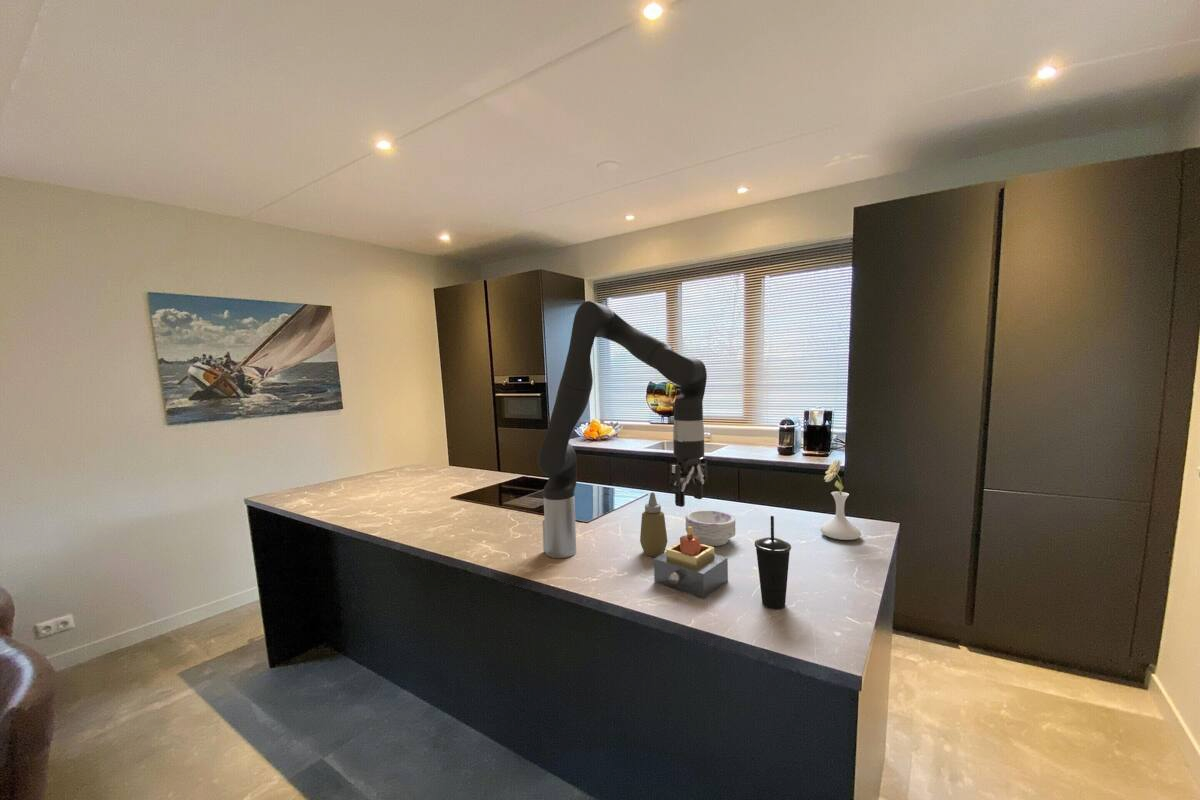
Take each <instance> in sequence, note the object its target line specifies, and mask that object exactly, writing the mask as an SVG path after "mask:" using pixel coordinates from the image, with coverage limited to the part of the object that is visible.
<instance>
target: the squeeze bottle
mask: <svg viewBox="0 0 1200 800" xmlns="http://www.w3.org/2000/svg"><path fill="white" fill-rule="evenodd" d="M656 498H657V497H656V493H655V492H650V494H649V498H648V503H645V505H644V511H643V512H641V522H640V523H641V525H640V536H639V537H640V538H639V542H640V544H641V547H642V551H643V554H644V555H646V556H649V557H658V556H660V555H662V554H664V553H665V552H666V549H667V548H666V547H667V545H668V535H667V526H666V518H665V513H664V512H663V511H662V506H661V504H660V503H658V502H657V499H656Z"/></svg>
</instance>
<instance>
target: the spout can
mask: <svg viewBox="0 0 1200 800" xmlns="http://www.w3.org/2000/svg"><path fill="white" fill-rule="evenodd" d="M679 543H680V552H682V553H686V554H689V555H693V556H697V555H698V554H700V553H701V551H700V538H699V537H697V536H693V527H692V526H687V532H686V535H682V536H680V538H679Z"/></svg>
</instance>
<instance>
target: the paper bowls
mask: <svg viewBox="0 0 1200 800" xmlns="http://www.w3.org/2000/svg"><path fill="white" fill-rule="evenodd" d="M687 526H692V527H693V536H697V537H699V538H700V544H703V545H707V546H711V547H719V546H723V545H725V544H727V543H728V541H729V539H732V538H733V537H735V536H736V517H735V516H734V515H732V514H730V513H727V512H724V511H719V510H709V509H704V510H702V509H700V510H694V511H689V512H688V513H686V515H685V532H686V533H687Z"/></svg>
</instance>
